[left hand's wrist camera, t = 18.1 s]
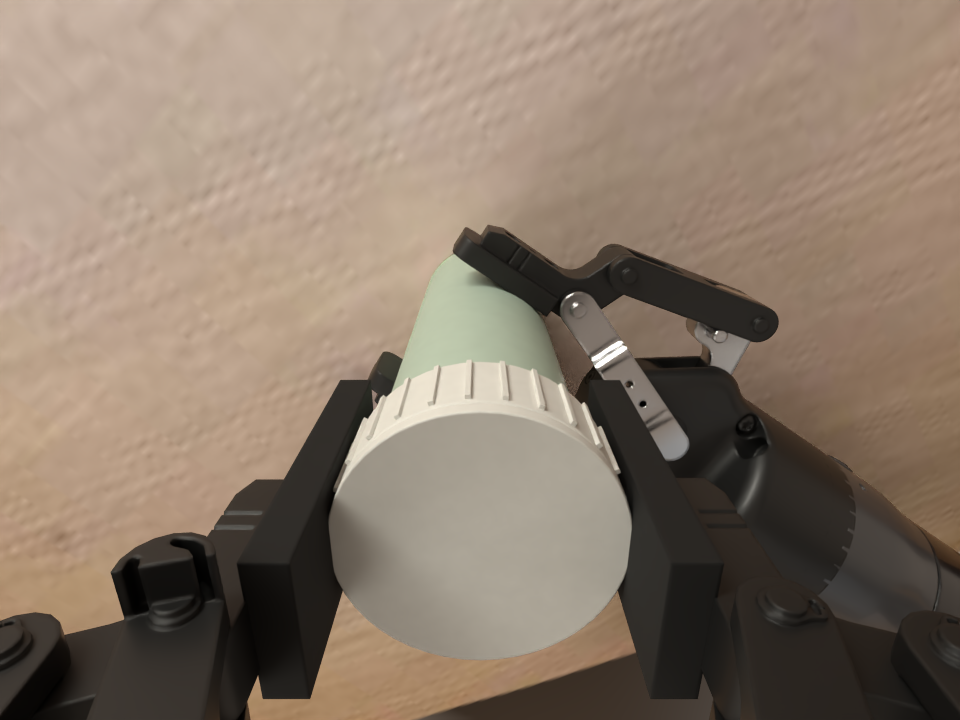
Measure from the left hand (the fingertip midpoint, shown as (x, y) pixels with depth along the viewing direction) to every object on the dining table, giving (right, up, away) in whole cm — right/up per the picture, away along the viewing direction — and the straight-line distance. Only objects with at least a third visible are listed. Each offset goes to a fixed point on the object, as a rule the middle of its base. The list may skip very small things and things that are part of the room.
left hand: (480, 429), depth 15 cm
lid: (0, -2, -4) cm, 4 cm away
